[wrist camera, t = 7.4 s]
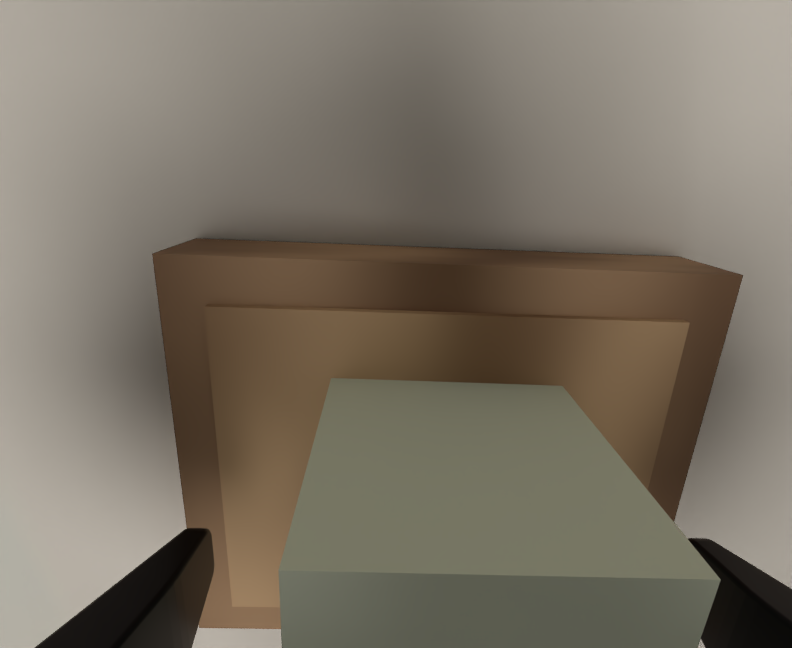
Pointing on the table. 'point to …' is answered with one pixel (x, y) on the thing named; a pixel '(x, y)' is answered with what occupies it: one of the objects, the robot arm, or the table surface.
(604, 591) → the sage cube
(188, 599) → the robot arm
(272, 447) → the brown wooden tray
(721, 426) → the table surface
